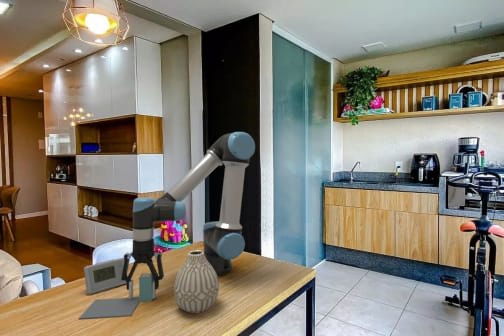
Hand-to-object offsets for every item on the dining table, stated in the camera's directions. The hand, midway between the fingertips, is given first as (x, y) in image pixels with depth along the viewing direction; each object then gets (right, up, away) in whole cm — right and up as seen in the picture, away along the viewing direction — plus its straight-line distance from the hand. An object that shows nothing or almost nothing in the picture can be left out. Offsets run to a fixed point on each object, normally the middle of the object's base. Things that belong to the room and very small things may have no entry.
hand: (142, 297), depth 114 cm
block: (+2, -1, 0) cm, 2 cm away
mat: (-8, -1, -7) cm, 11 cm away
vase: (+22, -1, -7) cm, 23 cm away
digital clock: (-19, -1, +10) cm, 21 cm away
